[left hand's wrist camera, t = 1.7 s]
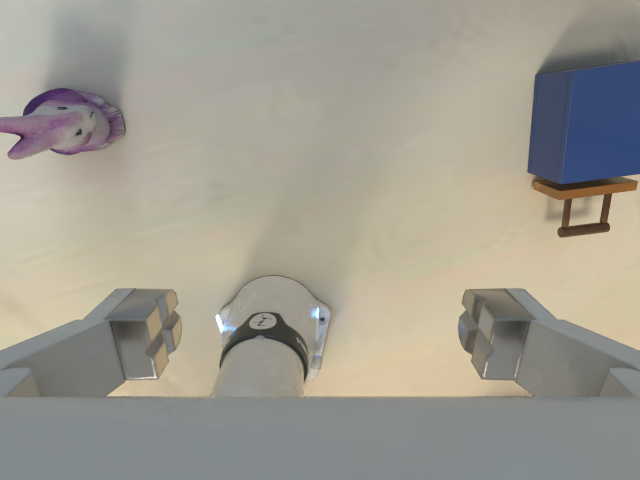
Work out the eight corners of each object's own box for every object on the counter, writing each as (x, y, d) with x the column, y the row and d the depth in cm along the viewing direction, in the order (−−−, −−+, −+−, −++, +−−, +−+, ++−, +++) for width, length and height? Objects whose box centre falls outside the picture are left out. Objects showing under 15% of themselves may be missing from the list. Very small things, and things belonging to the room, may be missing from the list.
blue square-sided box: (604, 162, 51) (651, 172, 44) (527, 172, 52) (560, 184, 45) (620, 62, 46) (675, 55, 39) (535, 74, 47) (574, 70, 40)
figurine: (141, 117, 49) (70, 124, 35) (101, 169, 51) (20, 196, 38) (81, 63, 46) (-22, 48, 32) (41, 121, 49) (-69, 130, 35)
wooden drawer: (595, 220, 54) (627, 234, 48) (530, 228, 54) (553, 243, 49) (616, 91, 47) (656, 91, 41) (541, 102, 47) (570, 103, 42)
